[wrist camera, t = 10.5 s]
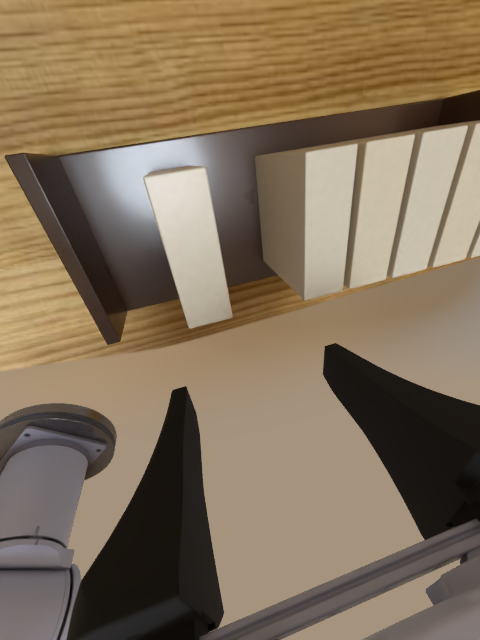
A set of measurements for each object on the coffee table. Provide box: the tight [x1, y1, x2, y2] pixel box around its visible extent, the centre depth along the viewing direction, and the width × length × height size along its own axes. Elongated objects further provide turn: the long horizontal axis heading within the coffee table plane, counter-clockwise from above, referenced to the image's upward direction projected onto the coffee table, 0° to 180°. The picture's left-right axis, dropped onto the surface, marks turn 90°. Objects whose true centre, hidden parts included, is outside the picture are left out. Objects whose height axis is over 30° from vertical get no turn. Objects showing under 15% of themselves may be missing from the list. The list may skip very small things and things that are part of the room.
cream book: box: [143, 166, 233, 329], centre depth 14 cm, size 2×7×7 cm, turn 8°
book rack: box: [5, 90, 480, 345], centre depth 17 cm, size 26×10×5 cm, turn 98°
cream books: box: [255, 120, 480, 300], centre depth 16 cm, size 14×7×7 cm, turn 98°
